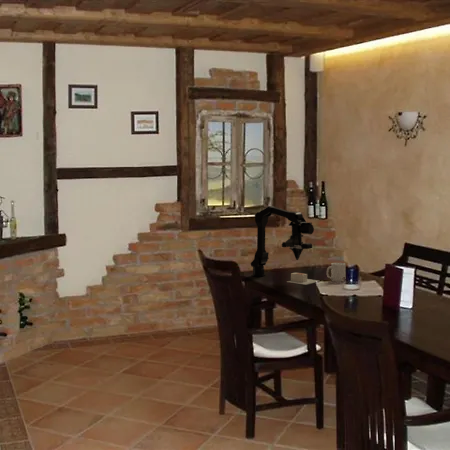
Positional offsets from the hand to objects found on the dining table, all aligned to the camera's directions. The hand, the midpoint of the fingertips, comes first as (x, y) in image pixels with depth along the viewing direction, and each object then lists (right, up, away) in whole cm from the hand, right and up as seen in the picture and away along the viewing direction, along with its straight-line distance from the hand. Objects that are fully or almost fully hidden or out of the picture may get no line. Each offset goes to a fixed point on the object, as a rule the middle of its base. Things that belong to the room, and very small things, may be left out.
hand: (297, 259), depth 418 cm
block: (-2, -10, +3) cm, 11 cm away
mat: (+3, -13, -2) cm, 13 cm away
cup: (+23, -13, 0) cm, 26 cm away
